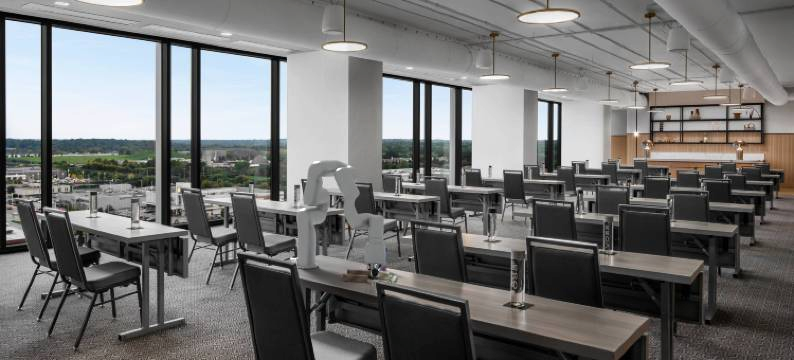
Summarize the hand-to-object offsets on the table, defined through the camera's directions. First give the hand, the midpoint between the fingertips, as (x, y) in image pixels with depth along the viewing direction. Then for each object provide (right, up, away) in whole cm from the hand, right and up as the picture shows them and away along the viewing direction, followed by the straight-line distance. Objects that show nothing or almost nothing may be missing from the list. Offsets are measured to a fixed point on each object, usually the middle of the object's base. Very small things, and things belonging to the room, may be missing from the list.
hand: (374, 276), depth 287 cm
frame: (+5, -2, 0) cm, 5 cm away
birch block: (+5, -2, 0) cm, 5 cm away
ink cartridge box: (0, 0, +20) cm, 20 cm away
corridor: (-9, -1, +1) cm, 9 cm away
